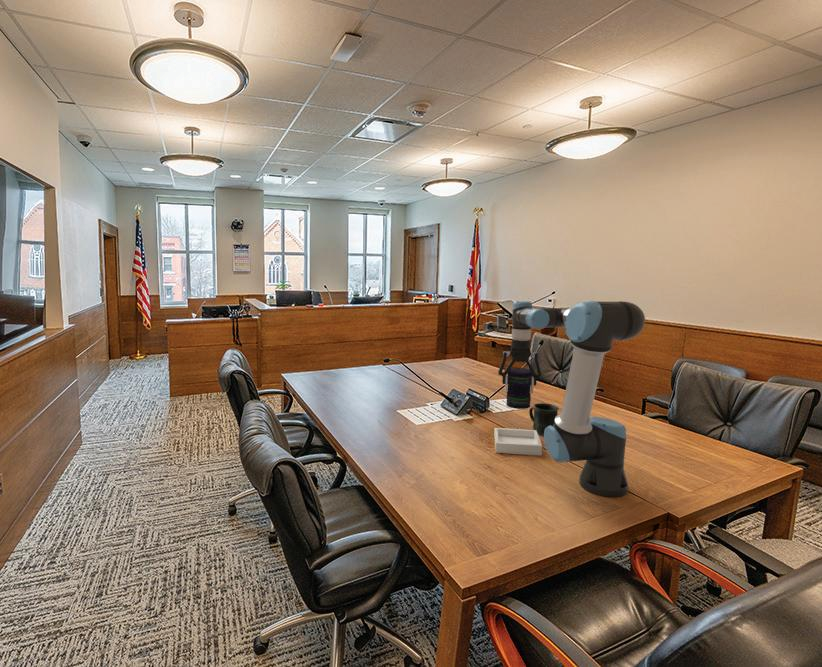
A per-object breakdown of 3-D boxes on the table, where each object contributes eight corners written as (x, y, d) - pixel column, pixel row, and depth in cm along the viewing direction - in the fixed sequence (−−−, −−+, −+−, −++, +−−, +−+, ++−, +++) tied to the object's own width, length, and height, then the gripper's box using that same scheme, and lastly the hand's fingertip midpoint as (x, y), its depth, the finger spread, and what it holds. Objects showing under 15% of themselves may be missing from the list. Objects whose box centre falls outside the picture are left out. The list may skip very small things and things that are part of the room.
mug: (546, 438, 192) (548, 411, 190) (521, 428, 204) (522, 403, 202) (562, 433, 198) (563, 407, 196) (537, 424, 210) (538, 400, 208)
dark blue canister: (531, 409, 175) (532, 373, 173) (506, 408, 177) (507, 372, 175) (529, 402, 185) (531, 368, 183) (505, 401, 187) (507, 367, 185)
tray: (541, 455, 173) (542, 445, 173) (495, 452, 176) (496, 443, 175) (535, 439, 191) (536, 430, 190) (494, 436, 194) (494, 427, 193)
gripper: (548, 338, 179) (545, 391, 182) (492, 337, 183) (491, 388, 186) (551, 341, 172) (548, 396, 175) (493, 339, 175) (491, 393, 178)
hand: (518, 392), depth 180 cm, fingers closed on dark blue canister, 10 cm apart
